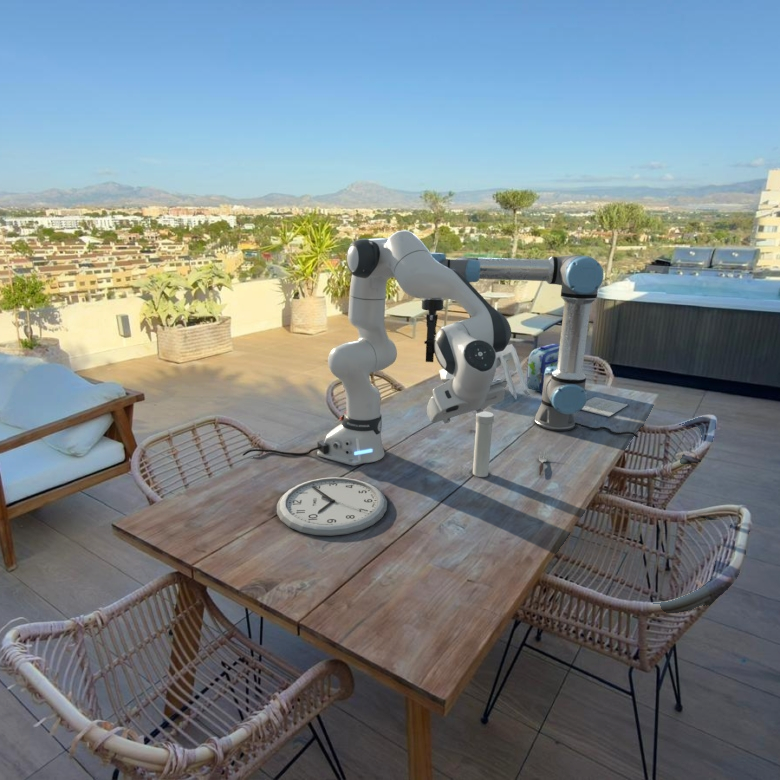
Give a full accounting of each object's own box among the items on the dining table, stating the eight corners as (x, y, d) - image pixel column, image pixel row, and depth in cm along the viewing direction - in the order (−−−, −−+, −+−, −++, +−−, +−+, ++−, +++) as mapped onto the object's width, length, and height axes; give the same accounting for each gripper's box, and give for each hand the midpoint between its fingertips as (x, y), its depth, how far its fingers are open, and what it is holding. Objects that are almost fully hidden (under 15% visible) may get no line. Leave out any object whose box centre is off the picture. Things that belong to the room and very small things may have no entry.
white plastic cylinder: (485, 469, 165) (489, 412, 160) (490, 476, 161) (495, 417, 155) (470, 470, 165) (474, 413, 159) (475, 477, 160) (480, 418, 154)
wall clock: (392, 527, 129) (268, 531, 127) (391, 533, 130) (269, 537, 127) (383, 473, 158) (282, 475, 155) (383, 478, 158) (282, 480, 156)
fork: (535, 475, 162) (535, 469, 161) (539, 455, 176) (540, 450, 175) (543, 477, 161) (544, 471, 160) (547, 456, 175) (548, 451, 175)
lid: (489, 417, 160) (490, 410, 160) (496, 423, 155) (496, 416, 155) (473, 418, 160) (473, 411, 159) (479, 424, 154) (479, 417, 154)
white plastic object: (461, 429, 252) (437, 405, 227) (444, 352, 274) (420, 323, 250) (535, 404, 240) (518, 377, 215) (510, 326, 262) (492, 293, 237)
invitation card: (608, 416, 214) (573, 407, 224) (608, 416, 214) (573, 408, 224) (628, 404, 229) (594, 396, 238) (628, 405, 229) (594, 397, 238)
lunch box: (542, 396, 239) (547, 351, 232) (522, 391, 246) (526, 347, 240) (570, 385, 256) (575, 343, 250) (550, 380, 263) (554, 339, 257)
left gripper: (503, 367, 130) (493, 394, 142) (426, 390, 126) (422, 416, 139) (514, 388, 127) (502, 414, 139) (436, 412, 124) (431, 436, 136)
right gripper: (424, 293, 195) (422, 349, 202) (419, 302, 172) (417, 365, 178) (444, 294, 195) (441, 350, 201) (442, 303, 171) (439, 366, 177)
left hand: (462, 415), depth 139 cm, fingers open, 8 cm apart
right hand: (430, 357), depth 190 cm, fingers open, 13 cm apart
